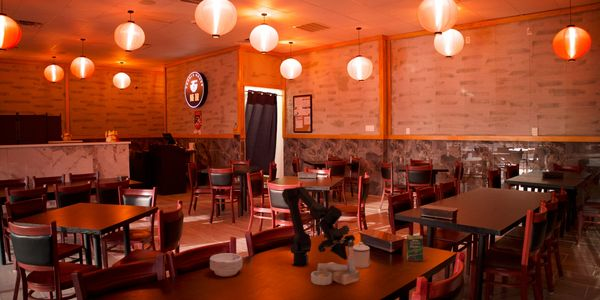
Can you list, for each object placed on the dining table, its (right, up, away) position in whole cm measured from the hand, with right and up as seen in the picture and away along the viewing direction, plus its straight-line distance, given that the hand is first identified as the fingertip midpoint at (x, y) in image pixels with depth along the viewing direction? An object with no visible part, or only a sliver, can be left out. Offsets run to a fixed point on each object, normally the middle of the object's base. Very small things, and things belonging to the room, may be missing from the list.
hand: (346, 259), depth 194 cm
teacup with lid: (+10, -9, +27) cm, 30 cm away
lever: (-4, -6, +3) cm, 8 cm away
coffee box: (+39, -9, +32) cm, 51 cm away
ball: (-11, -8, +1) cm, 14 cm away
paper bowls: (-55, -11, +15) cm, 58 cm away
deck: (-3, -10, +8) cm, 13 cm away
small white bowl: (-11, -11, +3) cm, 15 cm away
